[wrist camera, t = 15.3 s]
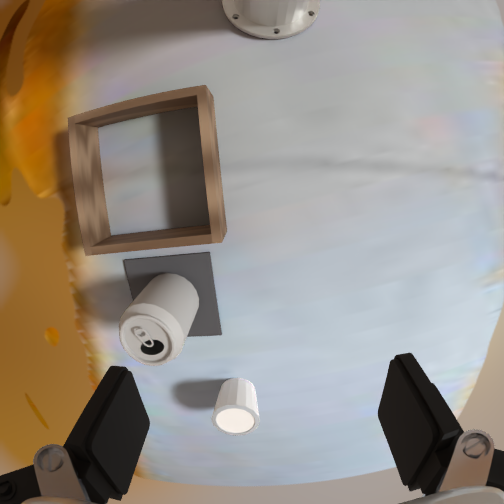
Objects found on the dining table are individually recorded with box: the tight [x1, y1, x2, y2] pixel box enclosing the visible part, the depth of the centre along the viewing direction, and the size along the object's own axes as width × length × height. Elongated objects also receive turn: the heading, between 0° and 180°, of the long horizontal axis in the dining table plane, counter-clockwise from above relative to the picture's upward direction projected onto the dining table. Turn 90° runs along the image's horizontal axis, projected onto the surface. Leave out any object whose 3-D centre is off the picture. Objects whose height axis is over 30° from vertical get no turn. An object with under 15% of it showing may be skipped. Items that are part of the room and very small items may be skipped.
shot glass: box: [211, 378, 260, 436], centre depth 43 cm, size 7×7×7 cm
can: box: [119, 273, 199, 366], centre depth 36 cm, size 8×8×12 cm
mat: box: [124, 252, 222, 337], centre depth 42 cm, size 12×12×1 cm
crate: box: [68, 85, 227, 256], centre depth 34 cm, size 17×17×6 cm
